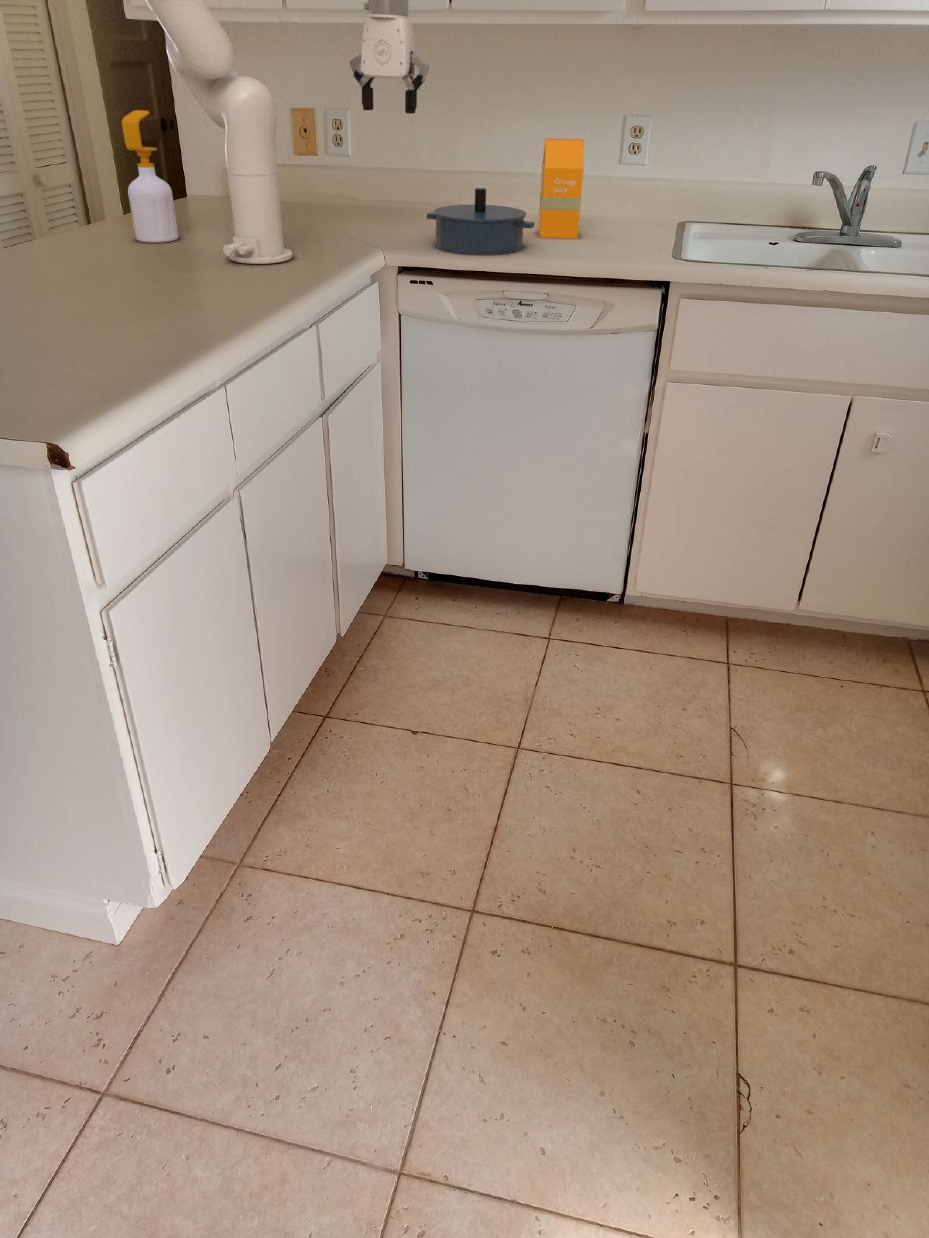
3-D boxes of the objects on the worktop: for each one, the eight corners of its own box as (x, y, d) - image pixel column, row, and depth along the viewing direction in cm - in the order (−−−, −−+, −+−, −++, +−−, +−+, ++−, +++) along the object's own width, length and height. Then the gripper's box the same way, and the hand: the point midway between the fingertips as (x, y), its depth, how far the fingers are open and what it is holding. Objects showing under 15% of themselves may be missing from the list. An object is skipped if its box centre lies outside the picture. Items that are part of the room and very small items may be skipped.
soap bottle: (187, 238, 197) (169, 111, 184) (159, 245, 190) (138, 113, 177) (155, 234, 200) (135, 108, 187) (127, 240, 193) (104, 111, 180)
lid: (506, 228, 182) (507, 198, 179) (418, 220, 188) (418, 191, 185) (538, 214, 197) (540, 187, 194) (456, 207, 204) (456, 180, 201)
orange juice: (577, 238, 206) (586, 141, 195) (540, 237, 206) (546, 140, 195) (574, 232, 213) (582, 138, 202) (537, 231, 213) (543, 137, 202)
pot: (515, 259, 185) (517, 226, 181) (410, 248, 193) (410, 215, 189) (545, 244, 199) (547, 213, 196) (446, 234, 207) (446, 204, 204)
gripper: (340, 7, 171) (342, 109, 180) (420, 10, 165) (418, 115, 174) (359, 9, 177) (361, 108, 186) (437, 12, 171) (435, 114, 180)
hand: (389, 111), depth 180 cm, fingers open, 9 cm apart
